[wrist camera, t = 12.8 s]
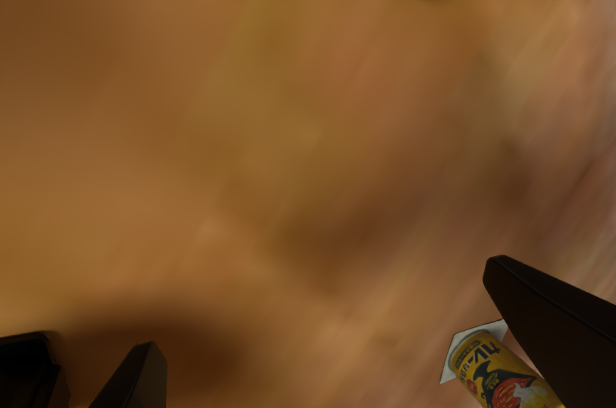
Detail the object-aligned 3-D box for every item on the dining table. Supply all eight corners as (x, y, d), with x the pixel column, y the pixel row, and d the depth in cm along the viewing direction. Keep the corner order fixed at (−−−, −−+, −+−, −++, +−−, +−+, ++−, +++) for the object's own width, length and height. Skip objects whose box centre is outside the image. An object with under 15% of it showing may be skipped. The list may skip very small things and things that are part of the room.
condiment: (452, 333, 34) (575, 455, 24) (511, 315, 37) (642, 416, 26) (437, 382, 37) (541, 509, 26) (493, 361, 40) (605, 468, 29)
